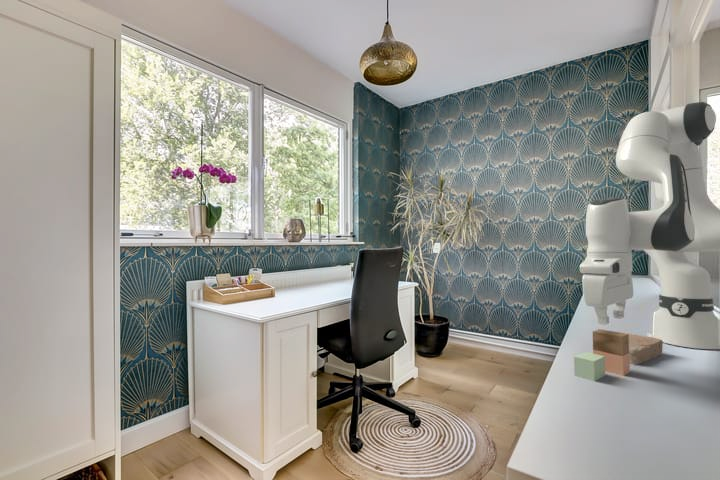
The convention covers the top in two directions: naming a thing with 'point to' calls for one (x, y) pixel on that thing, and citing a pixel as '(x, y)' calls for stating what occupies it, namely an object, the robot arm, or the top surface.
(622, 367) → the terracotta block
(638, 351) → the brick
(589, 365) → the sage block
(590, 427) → the top surface
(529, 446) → the top surface
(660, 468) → the top surface
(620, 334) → the walnut block
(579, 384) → the top surface
